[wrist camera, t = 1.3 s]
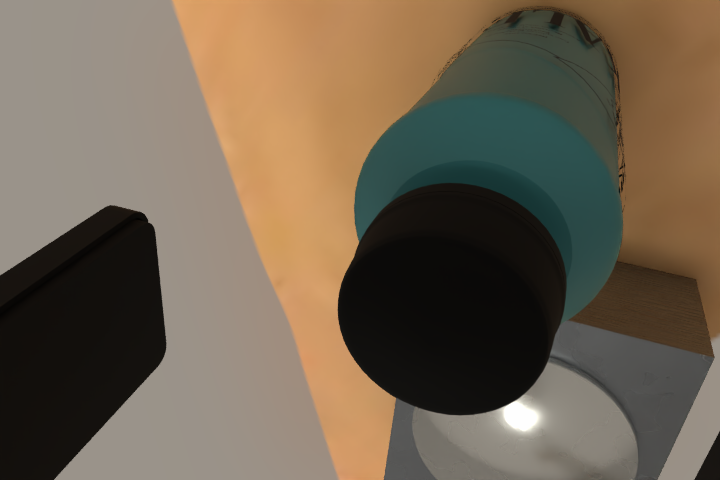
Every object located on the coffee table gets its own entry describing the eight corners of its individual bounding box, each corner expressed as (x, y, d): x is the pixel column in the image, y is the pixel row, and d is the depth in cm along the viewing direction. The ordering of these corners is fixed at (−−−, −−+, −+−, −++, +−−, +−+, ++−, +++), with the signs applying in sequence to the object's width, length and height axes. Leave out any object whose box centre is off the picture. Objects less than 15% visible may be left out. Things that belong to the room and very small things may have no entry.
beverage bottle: (485, 162, 30) (336, 487, 13) (445, 23, 28) (207, 207, 11) (632, 129, 27) (673, 489, 11) (601, -29, 25) (593, 115, 8)
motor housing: (592, 527, 38) (590, 631, 33) (402, 464, 41) (371, 550, 36) (695, 279, 29) (716, 365, 24) (443, 221, 32) (410, 286, 27)
